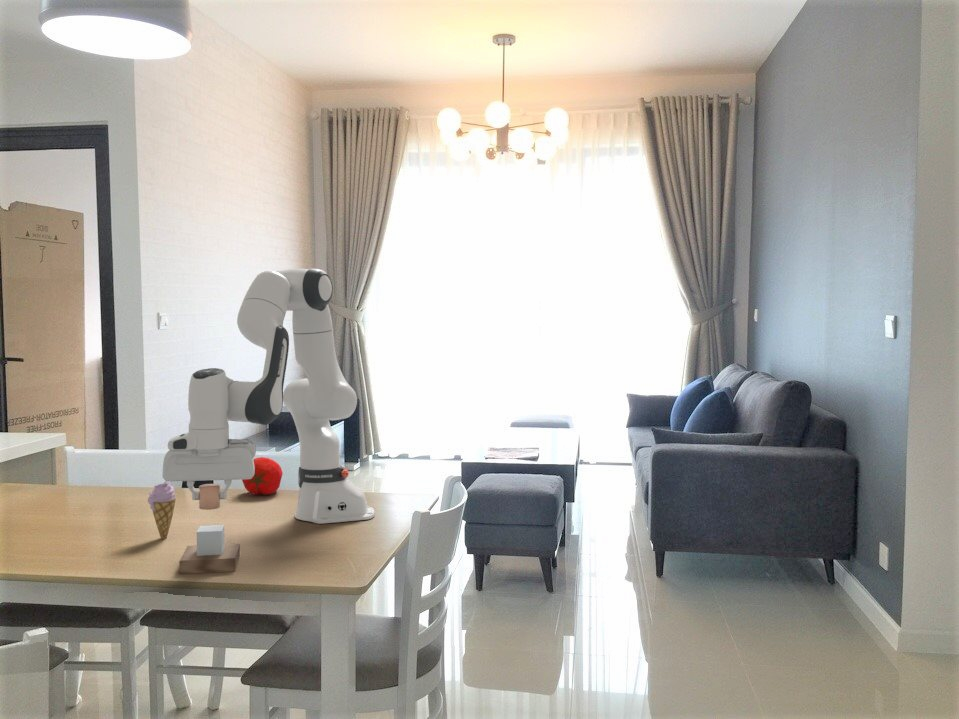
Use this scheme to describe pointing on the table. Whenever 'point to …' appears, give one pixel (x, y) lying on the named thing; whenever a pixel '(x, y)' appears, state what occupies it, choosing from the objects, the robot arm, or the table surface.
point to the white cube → (210, 540)
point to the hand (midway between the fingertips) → (209, 499)
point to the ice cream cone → (162, 506)
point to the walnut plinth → (210, 560)
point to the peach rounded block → (209, 496)
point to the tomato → (264, 477)
